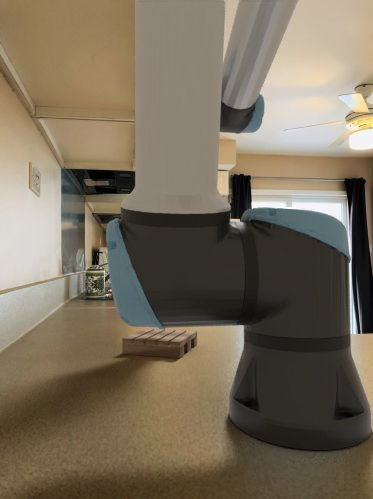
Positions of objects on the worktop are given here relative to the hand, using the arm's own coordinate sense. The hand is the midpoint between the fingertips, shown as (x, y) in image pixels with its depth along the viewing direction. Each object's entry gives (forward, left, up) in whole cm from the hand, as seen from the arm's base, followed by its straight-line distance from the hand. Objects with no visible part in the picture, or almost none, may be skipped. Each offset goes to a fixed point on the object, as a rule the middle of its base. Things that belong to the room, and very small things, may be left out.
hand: (161, 282), depth 77 cm
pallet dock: (0, 0, -14) cm, 14 cm away
